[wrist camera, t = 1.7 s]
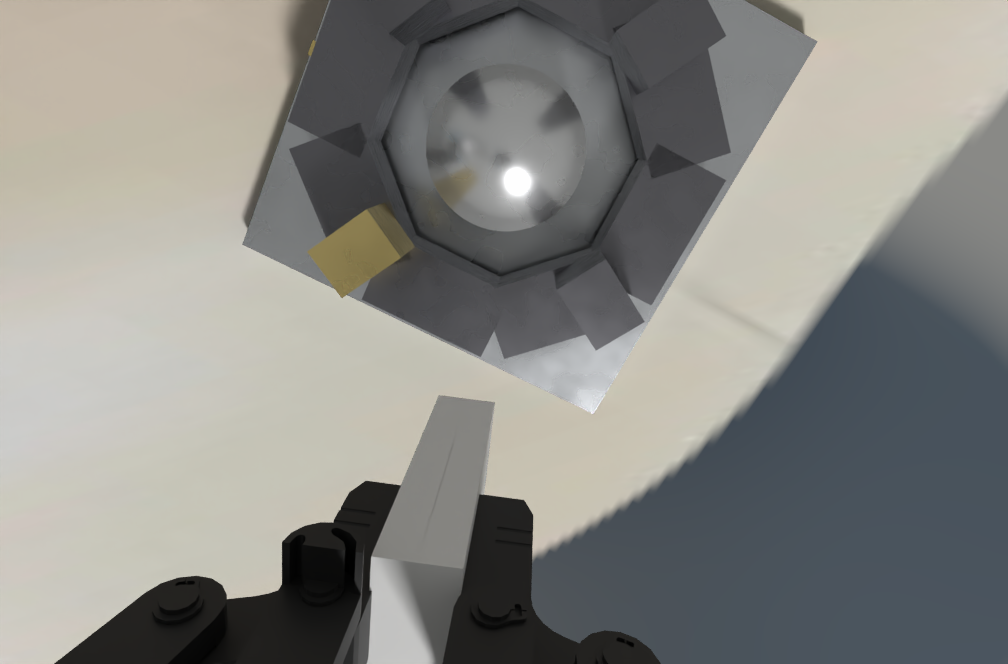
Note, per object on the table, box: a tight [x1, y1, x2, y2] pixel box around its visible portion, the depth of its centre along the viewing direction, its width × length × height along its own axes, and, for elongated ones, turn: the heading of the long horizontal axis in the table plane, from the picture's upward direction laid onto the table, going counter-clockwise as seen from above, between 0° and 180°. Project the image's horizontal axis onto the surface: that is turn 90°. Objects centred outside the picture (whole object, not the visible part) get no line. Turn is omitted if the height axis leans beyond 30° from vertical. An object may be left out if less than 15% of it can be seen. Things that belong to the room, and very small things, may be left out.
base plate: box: [243, 0, 817, 414], centre depth 28 cm, size 21×21×4 cm
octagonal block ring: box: [288, 0, 731, 359], centre depth 26 cm, size 18×18×6 cm
